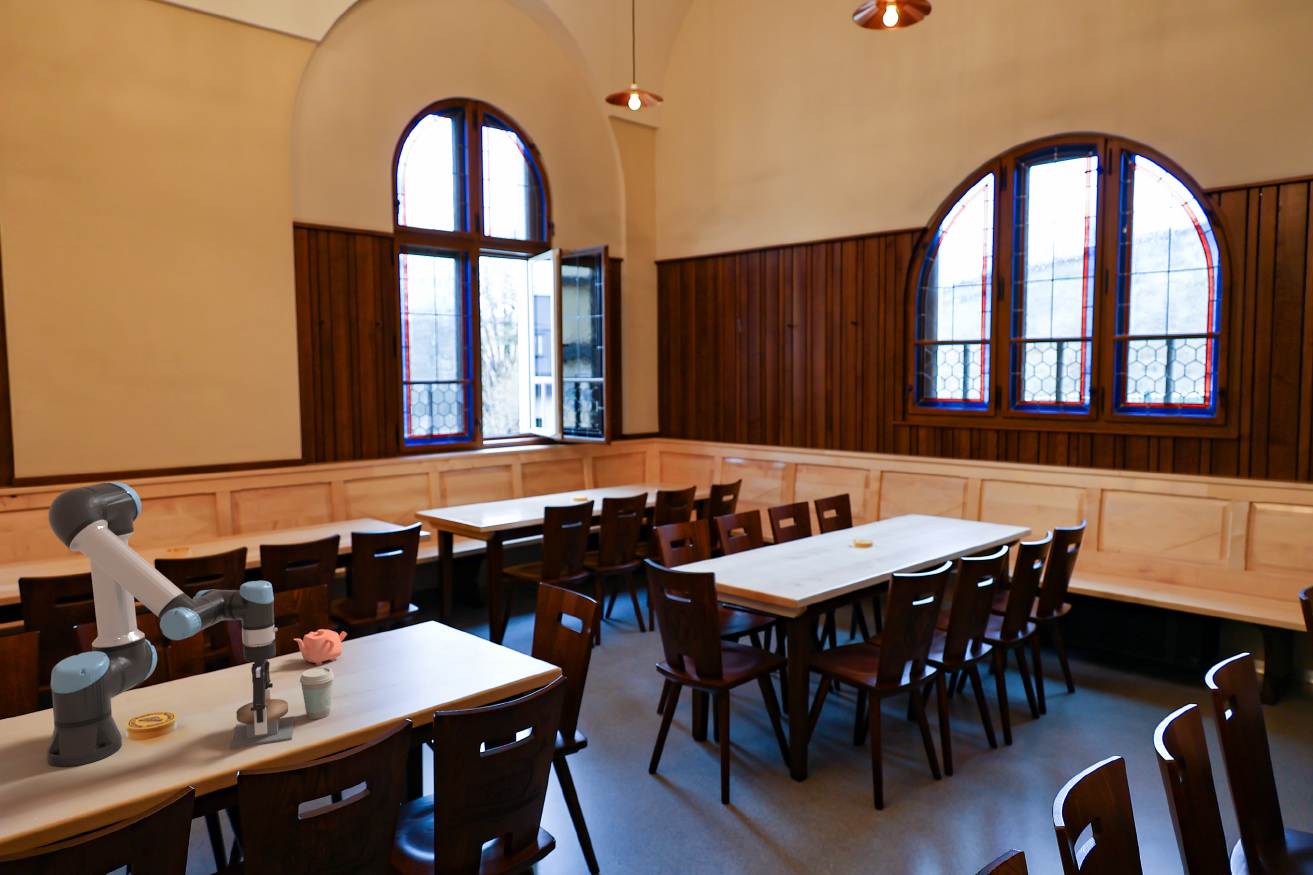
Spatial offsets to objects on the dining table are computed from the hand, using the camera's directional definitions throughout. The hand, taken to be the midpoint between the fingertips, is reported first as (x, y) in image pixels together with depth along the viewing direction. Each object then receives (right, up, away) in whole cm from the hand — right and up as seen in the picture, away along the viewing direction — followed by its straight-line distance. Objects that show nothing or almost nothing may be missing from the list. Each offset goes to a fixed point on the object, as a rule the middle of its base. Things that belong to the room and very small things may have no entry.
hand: (263, 723), depth 215 cm
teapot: (-7, +2, +54) cm, 55 cm away
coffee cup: (+10, -2, +11) cm, 15 cm away
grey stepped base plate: (0, -2, 0) cm, 2 cm away
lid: (0, +3, 0) cm, 3 cm away
